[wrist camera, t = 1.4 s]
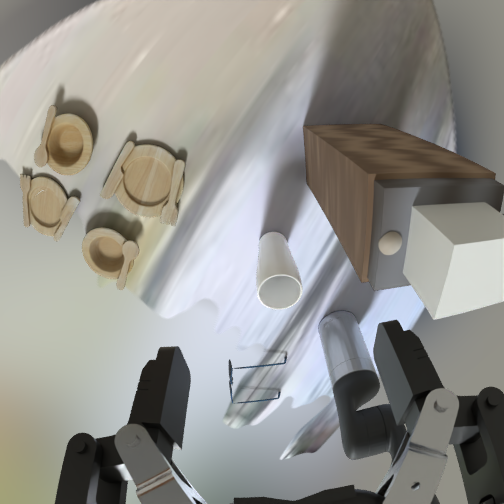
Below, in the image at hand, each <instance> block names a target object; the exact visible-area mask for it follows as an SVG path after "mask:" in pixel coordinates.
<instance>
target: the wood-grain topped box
mask: <svg viewBox="0 0 504 504" xmlns="http://www.w3.org/2000/svg"><path fill="white" fill-rule="evenodd" d="M303 133H304V146H305V162H306V179H307V184H308V186H309V188H310V189H311V191H312V193H313V194H314V196H315V198H316V200H317V201H318V203H319V205H320V207H321V208H322V210H323V212H324V214H325V215H326V217H327V219H328V221H329V222H330V224H331V226H332V228H333V230H334V231H335V233H336V235H337V237H338V239H339V241H340V243H341V244H342V246H343V248H344V250H345V252H346V254H347V256H348V258H349V259H350V261H351V263H352V265H353V267H354V269H355V271H356V273H357V275H358V277H359V279H360V281H361V283H362V282H370V284H371V286H372V288H373V290H374V291H377V290H383V289H390V288H396V287H402V286H409V285H411V284H410V283H409V281H408V280H407V278H406V277H405V275H404V274H403V268H404V262H405V256H406V250H407V243H408V236H409V229H410V221H411V212H412V206H421V205H437V204H455V203H476V202H486V203H487V204H488V205H490V206H491V207H493V208H494V209H496V210H497V211H498V212H500V211H501V205H502V200H503V194H504V185H503V184H501V183H499V182H497V181H496V180H495V175H496V174H495V173H494V172H492V171H490V170H488V169H486V168H484V167H483V166H481V165H479V164H477V163H475V162H473V161H470V160H468V159H466V158H464V157H462V156H460V155H458V154H456V153H454V152H451V151H449V150H447V149H445V148H442V147H440V146H438V145H435V144H433V143H430V142H428V141H426V140H423V139H421V138H418V137H415V136H413V135H410V134H408V133H405V132H402V131H400V130H397V129H394V128H391V127H388V126H385V125H382V124H336V125H311V126H303Z"/></svg>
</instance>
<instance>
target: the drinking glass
mask: <svg viewBox="0 0 504 504" xmlns="http://www.w3.org/2000/svg"><path fill="white" fill-rule="evenodd" d="M258 246H259V252H258V262H257V272H256V287H257V295H258V298H259V300H260V302H261V303H262V304H263V305H265V306H266V307H268V308H271V309H286V308H289V307H291V306H293V305H294V304H295V303H297V302H298V300H299V299H300V297H301V295H302V283H301V278H300V274H299V271H298V268H297V265H296V263H295V261H294V258H293V256H292V254H291V251H290V249H289V246H288V243H287V240H286V238H285V237H284V236H283V235H282V234H281V233H278V232H268V233H266V234H264V235H263V236H262V237H261V239H260V240H259V245H258Z"/></svg>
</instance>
